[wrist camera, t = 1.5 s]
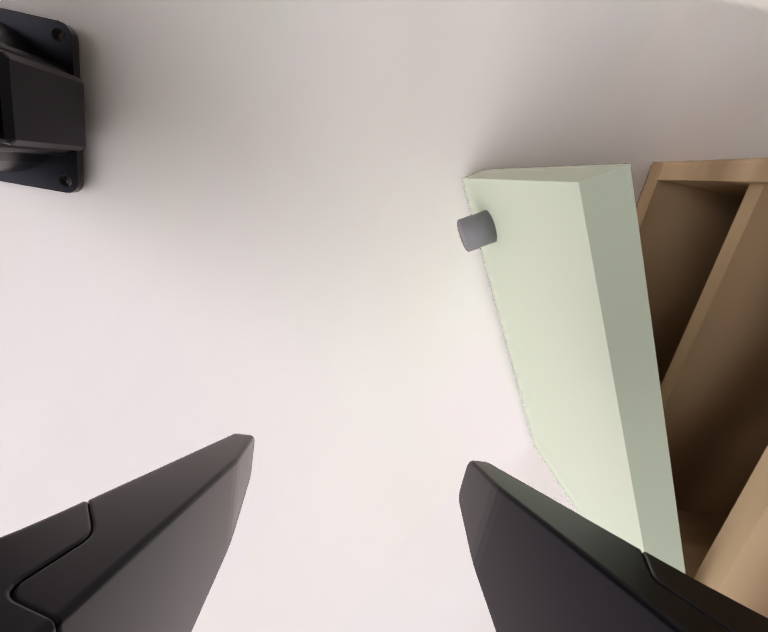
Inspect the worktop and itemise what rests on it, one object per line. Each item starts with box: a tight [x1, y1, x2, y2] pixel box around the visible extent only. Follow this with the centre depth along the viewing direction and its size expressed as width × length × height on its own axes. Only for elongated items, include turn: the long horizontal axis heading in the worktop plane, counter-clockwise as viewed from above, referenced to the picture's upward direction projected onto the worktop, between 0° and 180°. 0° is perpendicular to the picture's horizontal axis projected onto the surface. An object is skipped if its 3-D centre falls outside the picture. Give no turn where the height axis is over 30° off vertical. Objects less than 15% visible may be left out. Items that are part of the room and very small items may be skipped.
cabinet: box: [636, 158, 768, 618], centre depth 18 cm, size 8×16×11 cm, turn 169°
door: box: [457, 164, 685, 573], centre depth 17 cm, size 2×16×11 cm, turn 19°
